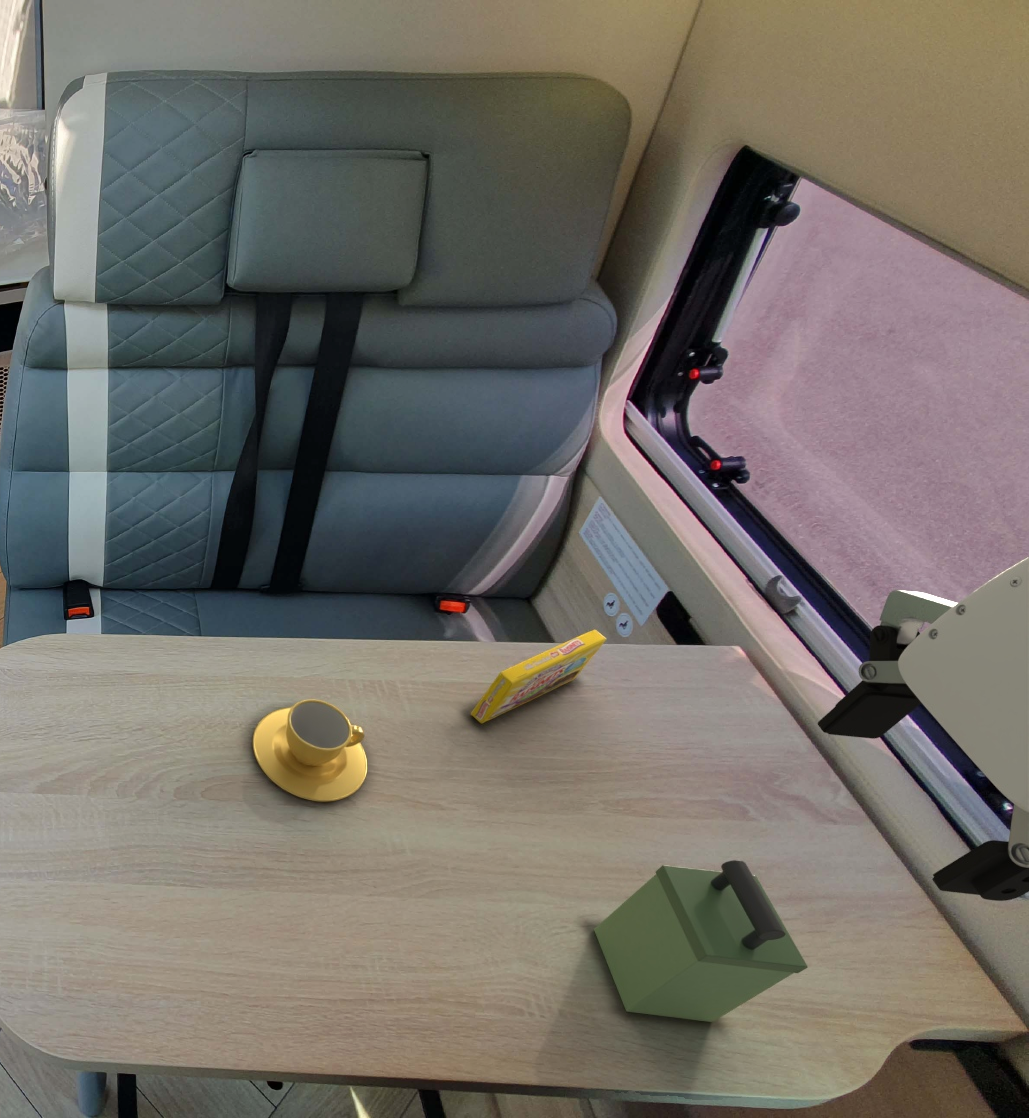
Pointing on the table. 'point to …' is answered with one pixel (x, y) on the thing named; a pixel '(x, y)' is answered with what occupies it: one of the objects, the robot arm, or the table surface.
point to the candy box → (537, 676)
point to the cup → (311, 751)
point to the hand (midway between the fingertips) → (900, 803)
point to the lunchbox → (696, 943)
